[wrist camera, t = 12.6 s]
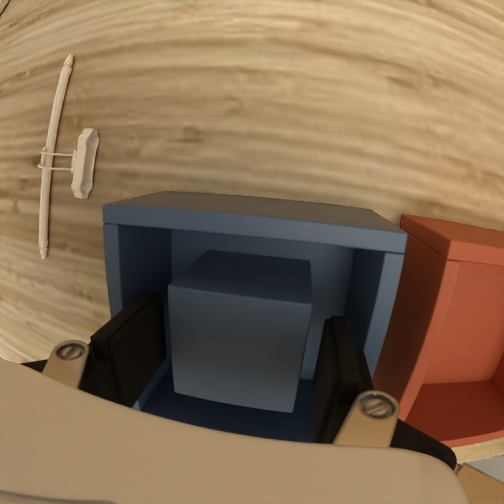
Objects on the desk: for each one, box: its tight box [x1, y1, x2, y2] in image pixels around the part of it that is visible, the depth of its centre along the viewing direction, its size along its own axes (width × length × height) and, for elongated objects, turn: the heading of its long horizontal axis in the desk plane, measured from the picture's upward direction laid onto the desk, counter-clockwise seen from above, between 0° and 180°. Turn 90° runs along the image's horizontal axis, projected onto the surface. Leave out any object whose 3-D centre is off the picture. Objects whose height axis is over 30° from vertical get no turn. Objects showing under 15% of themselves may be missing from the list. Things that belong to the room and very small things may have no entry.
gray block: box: [168, 250, 313, 413], centre depth 13 cm, size 5×5×5 cm
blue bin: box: [103, 191, 408, 443], centre depth 13 cm, size 10×10×6 cm
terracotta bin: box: [372, 214, 504, 448], centre depth 12 cm, size 10×10×6 cm
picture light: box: [37, 53, 99, 260], centre depth 15 cm, size 14×4×2 cm, turn 167°
